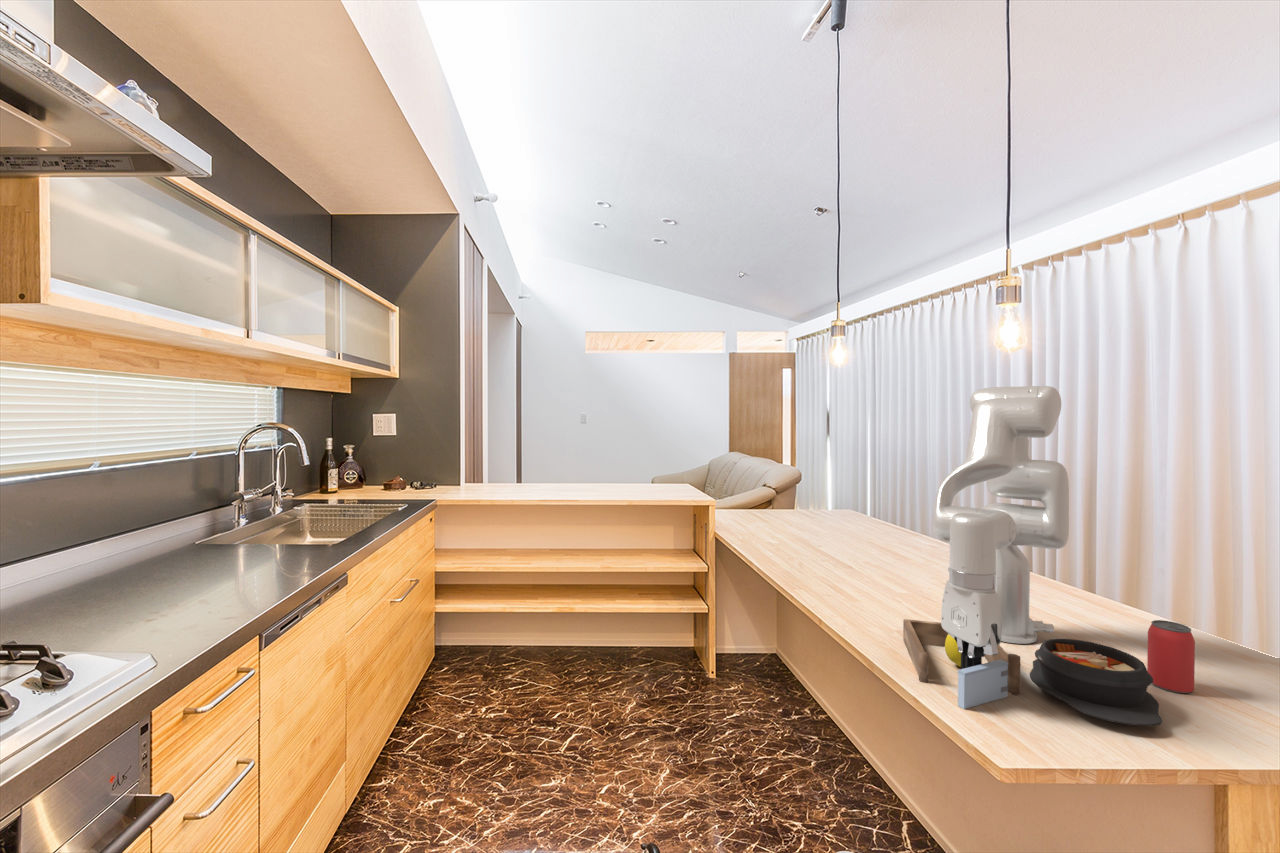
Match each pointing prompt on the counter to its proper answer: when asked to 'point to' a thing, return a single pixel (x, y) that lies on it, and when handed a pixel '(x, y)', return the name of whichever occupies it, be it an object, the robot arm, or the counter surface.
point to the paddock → (936, 636)
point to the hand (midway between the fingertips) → (971, 675)
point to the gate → (982, 683)
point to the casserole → (1096, 681)
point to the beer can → (1171, 656)
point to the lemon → (952, 650)
